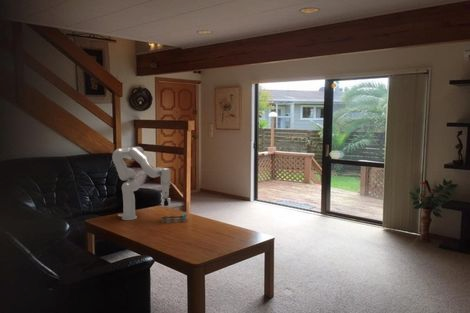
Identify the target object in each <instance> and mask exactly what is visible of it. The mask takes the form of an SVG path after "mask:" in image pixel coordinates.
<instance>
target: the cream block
mask: <svg viewBox="0 0 470 313" xmlns="http://www.w3.org/2000/svg"><path fill="white" fill-rule="evenodd" d="M171 205H172V204H171V197H168V206H167V207H171ZM161 207H165V206H164V197H162V198H161Z"/></svg>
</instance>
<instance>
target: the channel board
mask: <svg viewBox="0 0 470 313" xmlns="http://www.w3.org/2000/svg"><path fill="white" fill-rule="evenodd" d="M181 213H182V215H168V216H167V215H165V216H164V215H162V216H161V224H171V223H172V224H176V223H178V224H179V223H188V222H187V212H181Z"/></svg>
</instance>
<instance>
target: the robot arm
mask: <svg viewBox="0 0 470 313" xmlns="http://www.w3.org/2000/svg"><path fill="white" fill-rule="evenodd" d="M111 157H112V161H113V164H114V167H115V169H116V172H117V174H118V177H119V179H120V180H121V181H125V182H123V183H122V185H121V191H122V202H123V207H122V210H123V213H117V216H118V217H121V219H122V220H124V221H133V220H136V219H137V218H138V216H137V215H136V198H135V193H134V192H136V191H138V190H139V189H140V186H141V185H140V182H139V178H138V176H137V173H136V171H135V170H134V169H133V168H130V167H128V166H127V164H126V162H125V161H124V158H125V159H126V158H132V159H133V160H135V161H136V162H137V163H138V164H139V165H140V167H141V170H143V173H145V174H146V175H147V176H148V177H150V178H153V179H155V178H158V177H160V185H161V193H162V194H161V196H162V198H164V207H169V206H168V198H169V194H170V193H169V192H170V189H169V188H170V186H171V170H170V168H168V167H159V166H157V167H152V165H150V164H149V162H148V161H149V157H148V156H147V155H146V154H144V148H143V147H141V146H128V147H119V148H117V149H115V150H114V151H113V153H112V156H111Z"/></svg>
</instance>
